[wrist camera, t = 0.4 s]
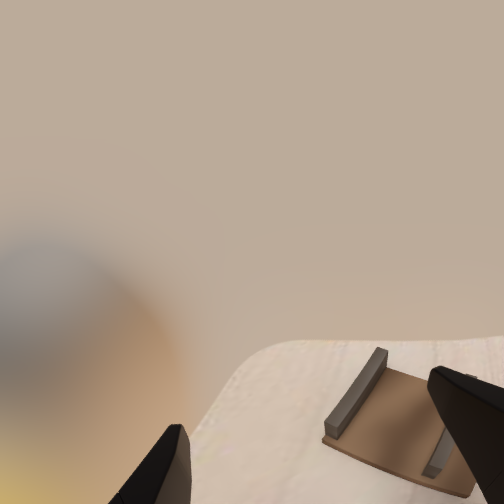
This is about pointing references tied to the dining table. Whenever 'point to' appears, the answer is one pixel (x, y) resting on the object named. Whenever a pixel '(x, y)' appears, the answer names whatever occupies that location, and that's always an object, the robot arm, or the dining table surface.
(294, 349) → the dining table surface
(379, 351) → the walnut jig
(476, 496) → the dining table surface
